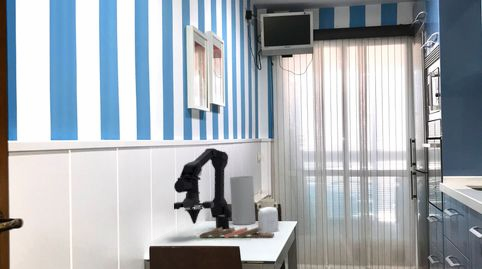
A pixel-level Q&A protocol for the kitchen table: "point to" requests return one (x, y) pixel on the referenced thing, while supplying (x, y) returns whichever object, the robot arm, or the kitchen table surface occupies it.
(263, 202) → the character mug
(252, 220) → the cylinder vase
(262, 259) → the kitchen table surface
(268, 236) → the domino
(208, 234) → the domino
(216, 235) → the domino
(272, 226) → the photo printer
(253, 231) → the domino
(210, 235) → the sage board
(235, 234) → the red domino
